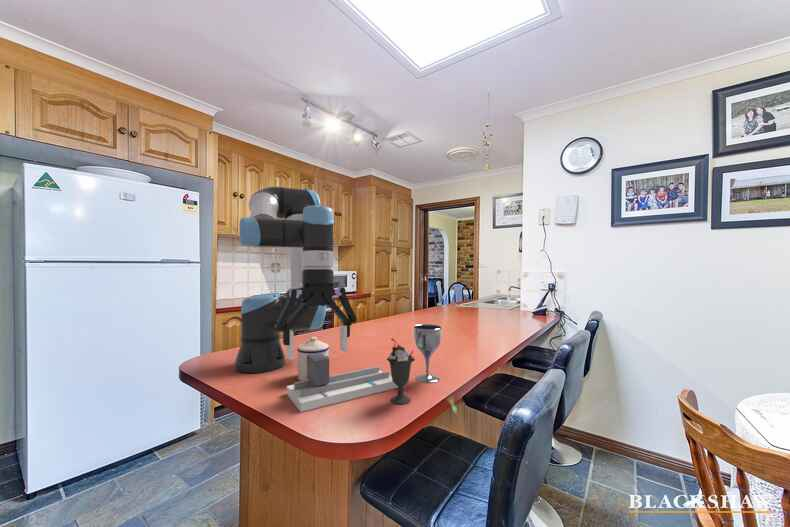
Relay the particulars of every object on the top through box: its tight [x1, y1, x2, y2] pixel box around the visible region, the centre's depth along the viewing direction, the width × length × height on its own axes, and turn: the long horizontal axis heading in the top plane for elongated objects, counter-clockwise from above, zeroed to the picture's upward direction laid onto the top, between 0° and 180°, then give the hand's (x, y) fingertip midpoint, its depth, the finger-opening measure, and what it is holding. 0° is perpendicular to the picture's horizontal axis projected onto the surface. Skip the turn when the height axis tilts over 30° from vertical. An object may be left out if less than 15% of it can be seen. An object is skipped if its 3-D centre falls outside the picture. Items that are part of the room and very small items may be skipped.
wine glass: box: [413, 323, 442, 384], centre depth 92 cm, size 8×8×15 cm
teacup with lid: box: [297, 336, 331, 381], centre depth 94 cm, size 12×9×12 cm
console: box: [286, 365, 398, 413], centre depth 83 cm, size 12×26×4 cm, turn 123°
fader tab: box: [307, 353, 330, 388], centre depth 79 cm, size 6×4×8 cm, turn 34°
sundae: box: [386, 338, 416, 406], centre depth 77 cm, size 7×7×15 cm
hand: (318, 354), depth 78 cm, fingers open, 13 cm apart
